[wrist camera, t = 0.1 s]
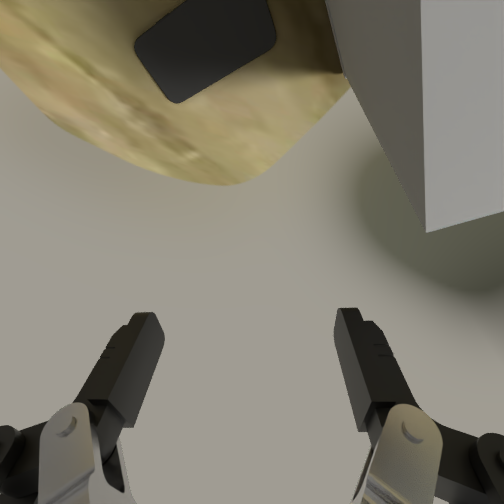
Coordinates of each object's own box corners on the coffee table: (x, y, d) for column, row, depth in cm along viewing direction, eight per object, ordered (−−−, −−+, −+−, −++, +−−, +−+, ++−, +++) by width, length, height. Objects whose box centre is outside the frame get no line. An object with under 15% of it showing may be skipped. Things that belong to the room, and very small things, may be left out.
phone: (279, 44, 27) (174, 107, 33) (279, 42, 28) (175, 104, 33) (250, -50, 22) (128, 44, 27) (250, -51, 22) (130, 42, 28)
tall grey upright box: (398, 40, 27) (553, 198, 13) (343, 73, 30) (424, 234, 16) (380, -171, 18) (895, -408, 4) (300, -94, 20) (414, -57, 6)
